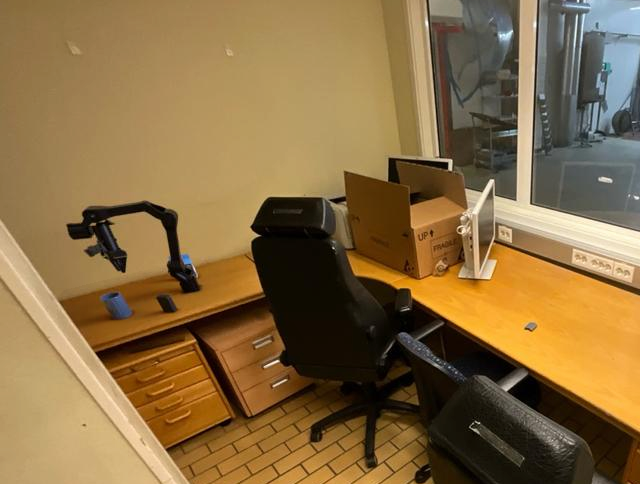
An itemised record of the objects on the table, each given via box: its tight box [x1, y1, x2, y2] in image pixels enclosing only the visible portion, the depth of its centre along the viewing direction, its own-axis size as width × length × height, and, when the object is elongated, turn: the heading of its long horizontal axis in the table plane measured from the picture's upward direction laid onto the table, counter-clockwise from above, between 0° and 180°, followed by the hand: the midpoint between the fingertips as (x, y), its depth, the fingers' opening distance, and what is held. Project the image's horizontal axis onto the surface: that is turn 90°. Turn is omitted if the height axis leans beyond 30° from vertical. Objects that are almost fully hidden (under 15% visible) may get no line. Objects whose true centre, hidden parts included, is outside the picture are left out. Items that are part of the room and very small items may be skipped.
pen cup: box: [99, 291, 133, 320], centre depth 173 cm, size 7×7×10 cm
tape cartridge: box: [167, 253, 199, 279], centre depth 203 cm, size 9×4×12 cm, turn 119°
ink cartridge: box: [155, 294, 178, 313], centre depth 177 cm, size 5×2×8 cm, turn 89°
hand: (121, 272), depth 176 cm, fingers open, 9 cm apart
